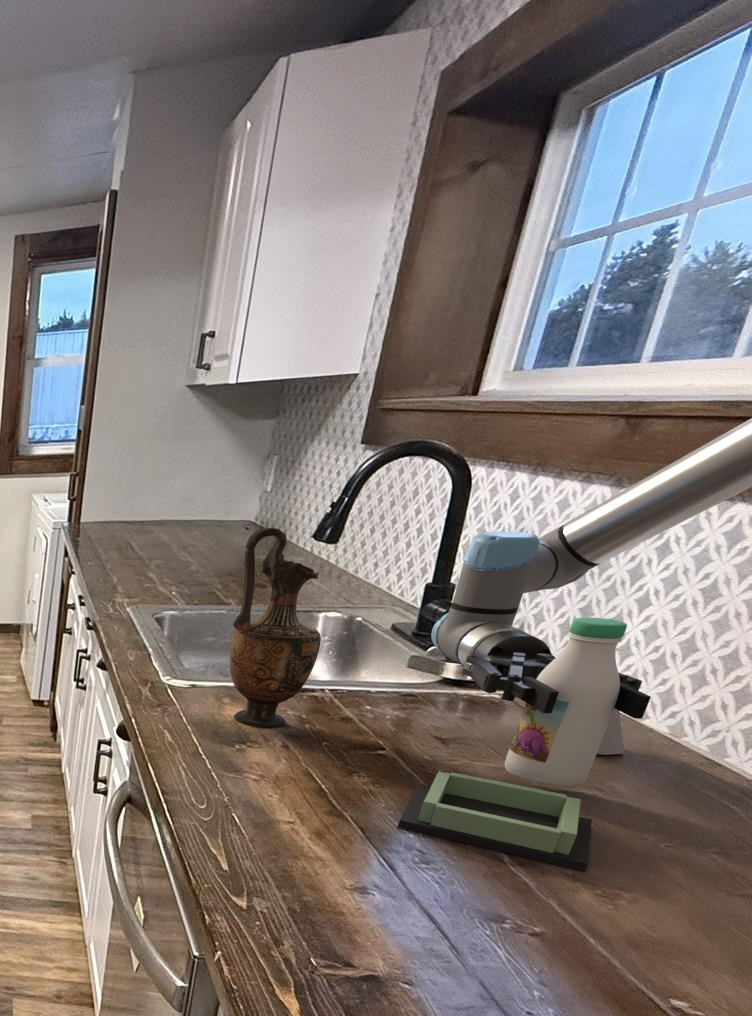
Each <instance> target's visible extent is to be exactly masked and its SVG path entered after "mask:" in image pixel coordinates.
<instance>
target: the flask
mask: <svg viewBox="0 0 752 1016" xmlns="http://www.w3.org/2000/svg"><path fill="white" fill-rule="evenodd" d="M621 721H622V720H621V711H619V710H617V709H615V708H614V710H613V713H612V716H611V718H610V721H609V724H608V726H607V729H606V731H605V734H604V737H603V739H602V742H601V744H600V747H599V749H598V752H597V754H596V755H603V756H607V755H623V754H625V746H624V740H623V732H622V723H621Z"/></svg>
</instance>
